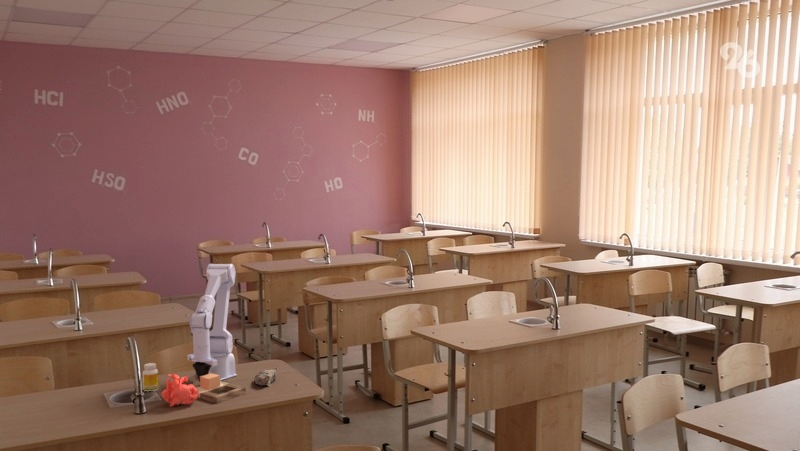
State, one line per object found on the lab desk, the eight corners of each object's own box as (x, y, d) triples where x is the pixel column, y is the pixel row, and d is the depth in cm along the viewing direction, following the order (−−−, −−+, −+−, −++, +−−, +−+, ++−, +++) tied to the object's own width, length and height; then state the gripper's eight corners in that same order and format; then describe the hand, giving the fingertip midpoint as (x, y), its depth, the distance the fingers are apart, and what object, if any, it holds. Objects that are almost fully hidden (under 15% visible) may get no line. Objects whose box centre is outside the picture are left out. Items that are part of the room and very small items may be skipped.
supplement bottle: (141, 389, 250) (140, 364, 249) (155, 386, 253) (154, 361, 252) (146, 393, 246) (145, 367, 245) (161, 390, 249) (160, 364, 248)
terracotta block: (211, 383, 249) (211, 373, 249) (220, 386, 246) (219, 375, 246) (200, 387, 245) (199, 376, 245) (209, 389, 242) (208, 378, 242)
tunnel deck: (196, 379, 261) (195, 368, 260) (246, 393, 244) (245, 380, 244) (167, 389, 250) (166, 377, 250) (217, 403, 234) (216, 390, 234)
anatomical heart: (199, 409, 233) (199, 379, 229) (162, 414, 229) (161, 384, 225) (197, 395, 241) (196, 366, 237) (161, 399, 237) (160, 370, 233)
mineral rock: (261, 376, 265) (261, 364, 265) (281, 376, 264) (280, 365, 264) (247, 388, 251) (247, 376, 250) (268, 388, 250) (268, 377, 249)
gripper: (179, 345, 248) (181, 381, 249) (205, 350, 240) (206, 388, 241) (195, 341, 254) (197, 376, 255) (221, 346, 245) (222, 383, 246)
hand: (202, 382), depth 248 cm, fingers closed
